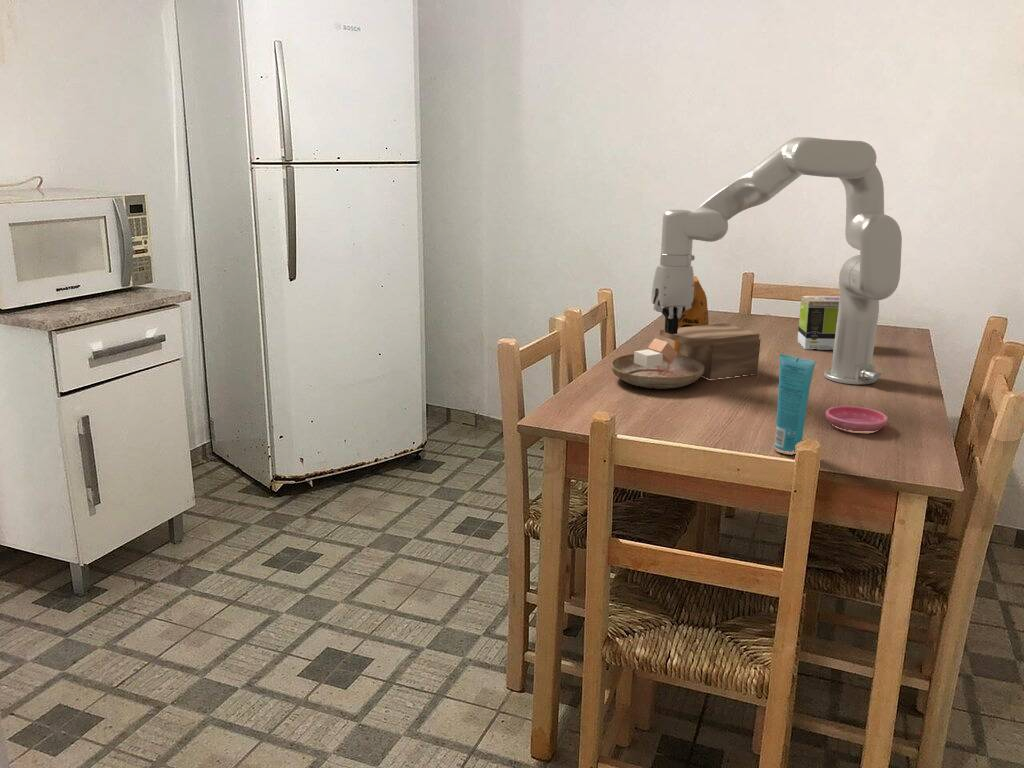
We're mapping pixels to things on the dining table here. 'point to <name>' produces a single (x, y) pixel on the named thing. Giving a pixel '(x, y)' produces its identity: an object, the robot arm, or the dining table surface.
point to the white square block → (648, 358)
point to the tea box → (818, 322)
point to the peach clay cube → (663, 349)
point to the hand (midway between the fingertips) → (671, 332)
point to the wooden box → (719, 349)
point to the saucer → (856, 418)
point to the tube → (792, 400)
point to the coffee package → (694, 311)
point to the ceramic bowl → (658, 372)
